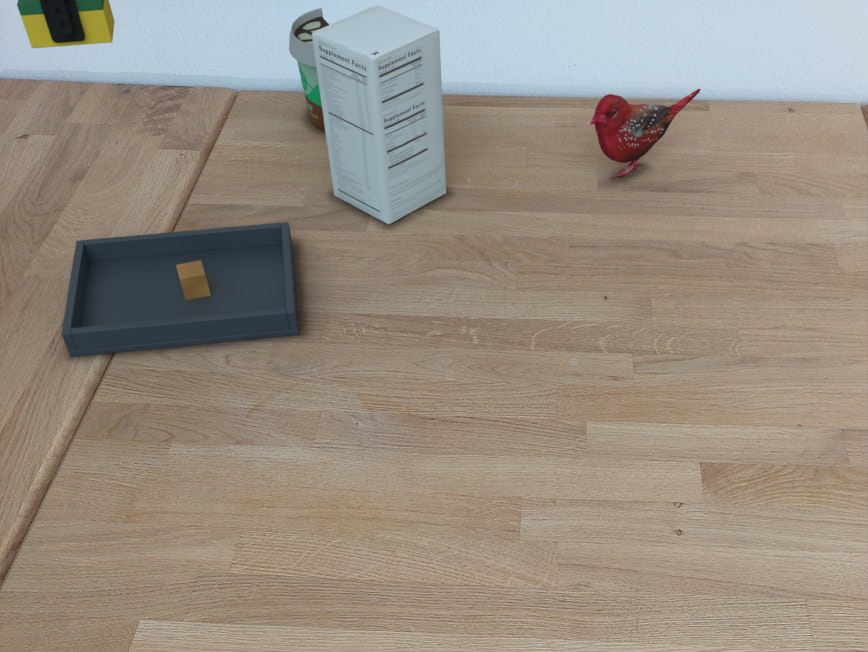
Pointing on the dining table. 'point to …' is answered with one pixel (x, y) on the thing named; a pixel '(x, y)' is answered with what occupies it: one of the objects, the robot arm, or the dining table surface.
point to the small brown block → (193, 280)
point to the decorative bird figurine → (632, 127)
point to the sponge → (92, 15)
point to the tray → (180, 290)
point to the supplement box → (382, 111)
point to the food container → (308, 61)
